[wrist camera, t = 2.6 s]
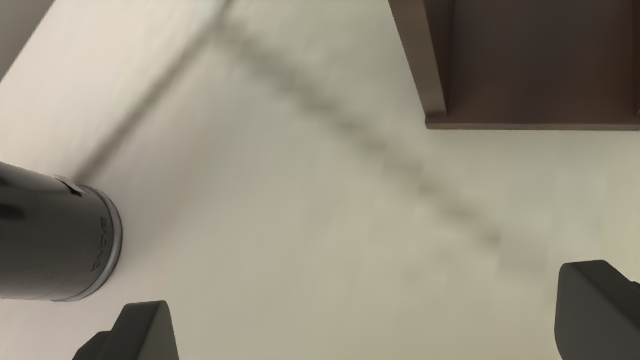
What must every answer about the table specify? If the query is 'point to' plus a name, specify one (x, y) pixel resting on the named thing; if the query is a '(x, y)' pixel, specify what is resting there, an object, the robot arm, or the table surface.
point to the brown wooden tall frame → (524, 62)
